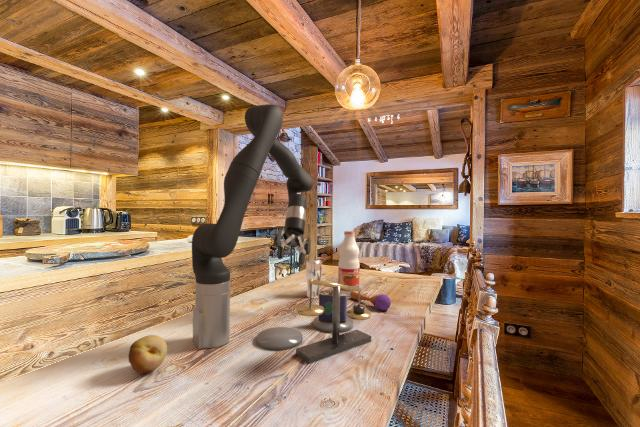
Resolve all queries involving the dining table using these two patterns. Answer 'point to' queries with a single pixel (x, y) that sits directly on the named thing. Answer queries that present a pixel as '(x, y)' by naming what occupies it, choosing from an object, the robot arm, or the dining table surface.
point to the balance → (333, 326)
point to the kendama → (374, 300)
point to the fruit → (147, 353)
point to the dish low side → (328, 326)
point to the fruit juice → (348, 263)
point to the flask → (327, 303)
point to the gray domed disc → (279, 338)
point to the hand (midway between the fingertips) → (290, 261)
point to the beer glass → (313, 277)
